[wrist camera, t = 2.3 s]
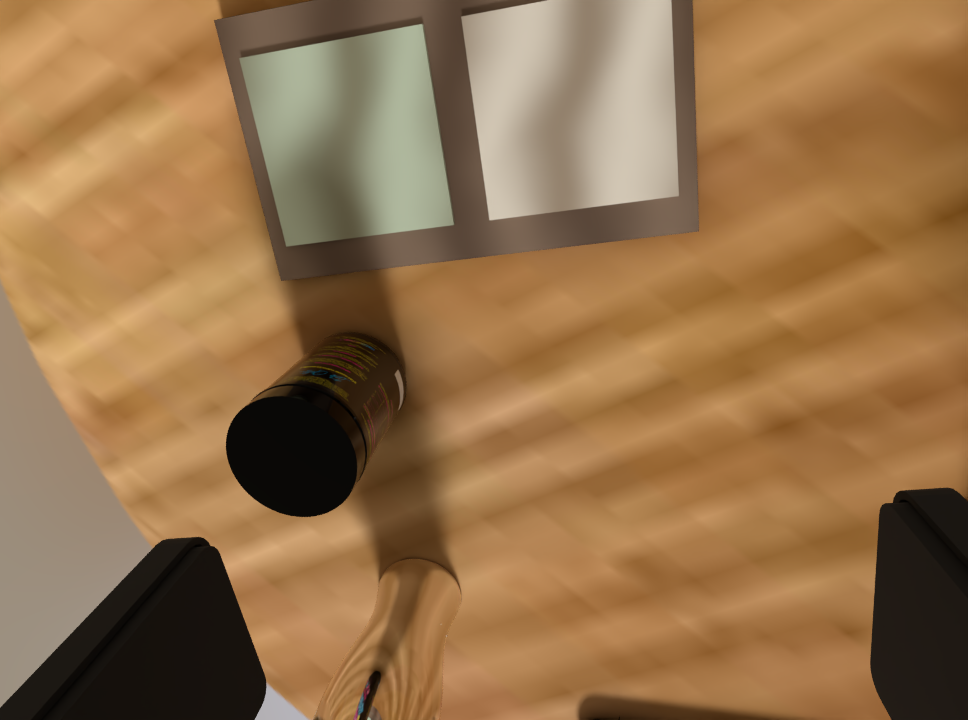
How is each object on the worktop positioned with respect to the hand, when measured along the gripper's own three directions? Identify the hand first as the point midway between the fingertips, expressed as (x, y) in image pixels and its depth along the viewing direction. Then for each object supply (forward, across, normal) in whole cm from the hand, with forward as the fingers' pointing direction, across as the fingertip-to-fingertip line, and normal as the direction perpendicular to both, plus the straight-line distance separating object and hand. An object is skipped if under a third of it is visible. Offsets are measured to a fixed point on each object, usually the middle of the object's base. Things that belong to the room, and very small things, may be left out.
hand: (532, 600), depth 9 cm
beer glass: (+29, +13, +24) cm, 40 cm away
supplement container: (+29, +14, +7) cm, 33 cm away
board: (+29, +4, -7) cm, 30 cm away
